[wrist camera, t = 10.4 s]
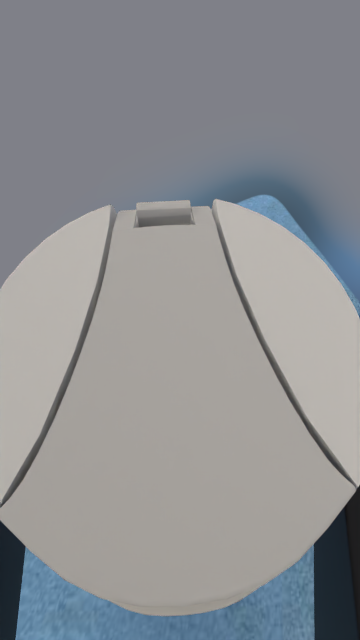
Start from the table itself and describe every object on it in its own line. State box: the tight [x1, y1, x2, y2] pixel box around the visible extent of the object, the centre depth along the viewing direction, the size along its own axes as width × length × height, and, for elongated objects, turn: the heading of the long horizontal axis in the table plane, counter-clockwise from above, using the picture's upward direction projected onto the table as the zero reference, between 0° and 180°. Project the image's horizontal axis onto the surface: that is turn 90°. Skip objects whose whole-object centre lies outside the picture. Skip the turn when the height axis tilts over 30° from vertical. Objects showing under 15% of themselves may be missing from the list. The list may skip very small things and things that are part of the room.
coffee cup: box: [0, 199, 360, 616], centre depth 11 cm, size 8×8×15 cm
